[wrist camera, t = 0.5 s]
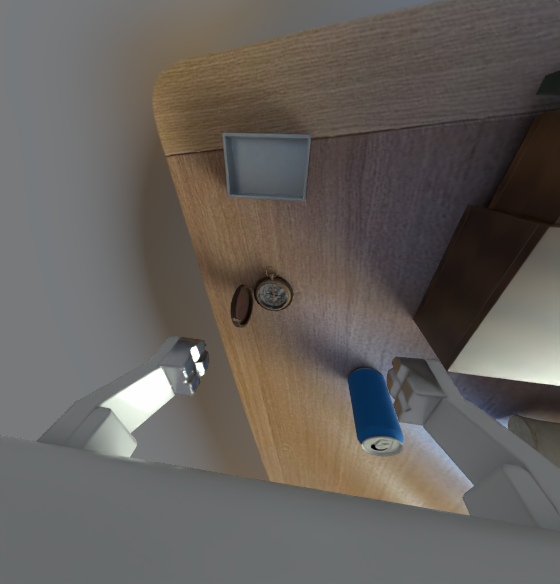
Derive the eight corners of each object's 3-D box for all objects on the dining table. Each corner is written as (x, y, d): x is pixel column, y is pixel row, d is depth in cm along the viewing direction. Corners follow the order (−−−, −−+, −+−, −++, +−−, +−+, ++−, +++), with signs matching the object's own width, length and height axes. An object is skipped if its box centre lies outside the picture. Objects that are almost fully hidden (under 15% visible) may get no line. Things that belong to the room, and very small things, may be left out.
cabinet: (467, 204, 23) (549, 226, 15) (615, 212, 22) (791, 241, 14) (412, 319, 32) (446, 371, 24) (516, 330, 31) (589, 389, 23)
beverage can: (342, 381, 42) (351, 450, 32) (355, 361, 39) (370, 431, 28) (373, 389, 42) (392, 461, 32) (389, 370, 39) (416, 443, 28)
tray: (229, 135, 23) (221, 132, 21) (311, 137, 22) (311, 134, 20) (234, 194, 26) (227, 197, 24) (305, 198, 25) (305, 201, 23)
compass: (294, 308, 34) (290, 340, 28) (247, 306, 35) (233, 336, 29) (293, 263, 30) (288, 289, 24) (240, 262, 31) (223, 287, 25)
